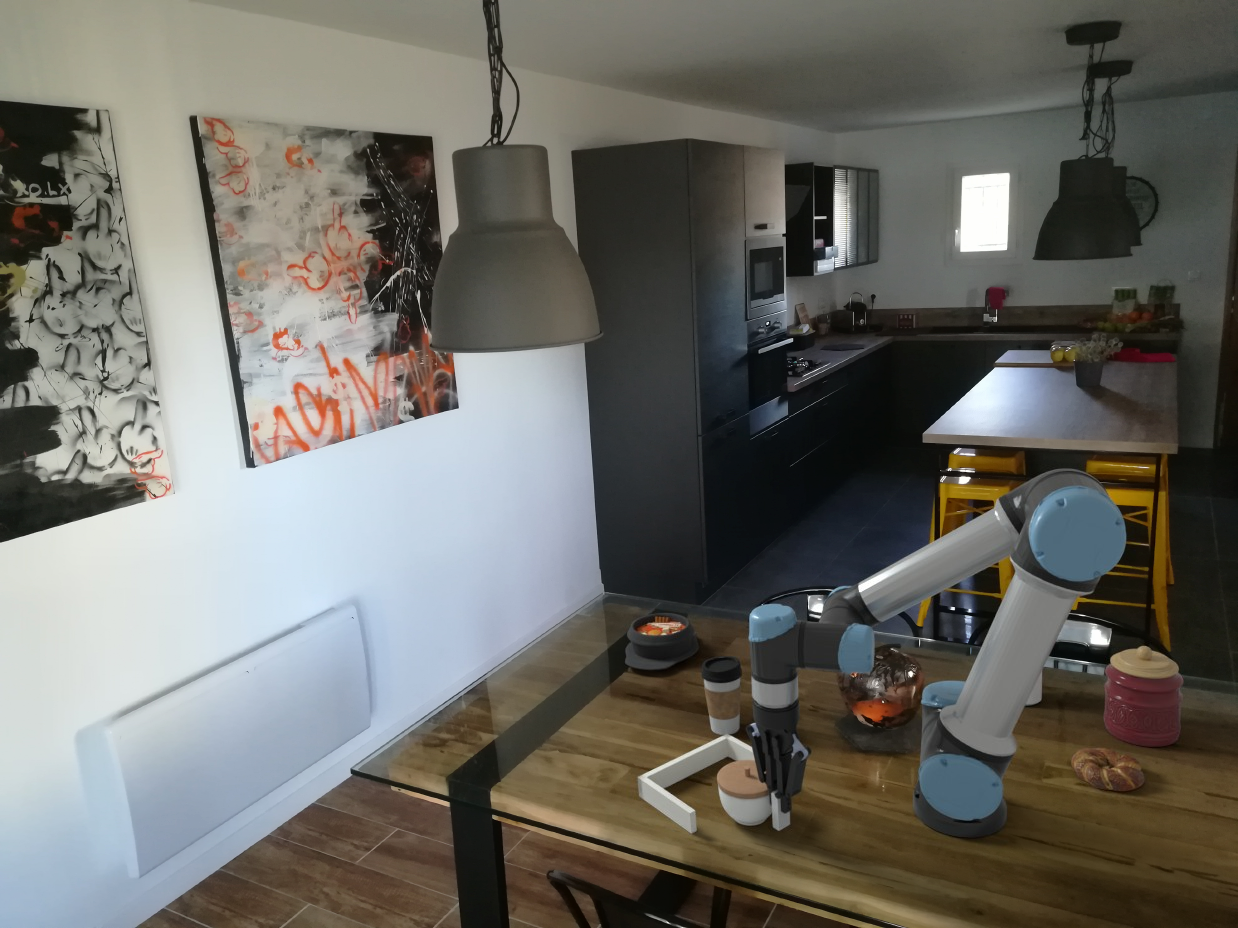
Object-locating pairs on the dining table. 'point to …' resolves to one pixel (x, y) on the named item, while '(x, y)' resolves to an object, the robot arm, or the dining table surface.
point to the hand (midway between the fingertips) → (781, 825)
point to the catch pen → (683, 767)
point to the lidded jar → (744, 793)
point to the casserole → (660, 641)
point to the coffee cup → (723, 693)
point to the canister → (1143, 698)
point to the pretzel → (1107, 769)
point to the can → (1035, 692)
